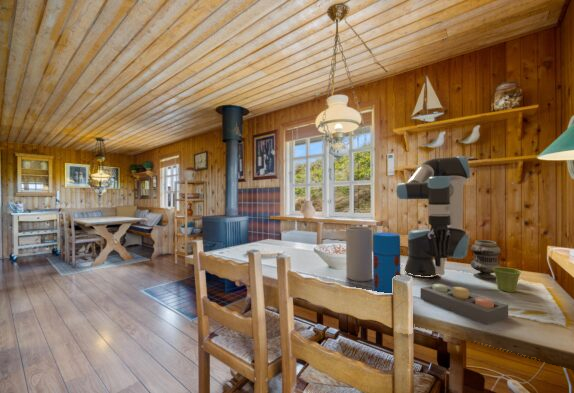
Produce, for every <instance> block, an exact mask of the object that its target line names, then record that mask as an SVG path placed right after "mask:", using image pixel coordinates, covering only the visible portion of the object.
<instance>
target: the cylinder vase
mask: <svg viewBox="0 0 574 393" xmlns="http://www.w3.org/2000/svg"><path fill="white" fill-rule="evenodd" d="M372 230H373V228H371V227H366V226H350V227H349V226H348V227H346V228H345V239H346V241H345V243H346V245H345V248H346V249H345V251H346V252H345V254H346V256H345V257H346V263H345V264H346V267H345V268H346V270H345V271H346V277H347V279H349V280H351V281H356V282H368V281H371V280H372V279H373V231H372Z"/></svg>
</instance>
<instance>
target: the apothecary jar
mask: <svg viewBox="0 0 574 393" xmlns="http://www.w3.org/2000/svg"><path fill="white" fill-rule="evenodd" d="M470 249H471V252H473V260H471V262H470V266H471V268H473V270H475V271H478V272H476V273H473V276H474V277H475V278H478V279H481V280H485V281H486V280H487V281H496V276H495V275H494V274H495V273H494V270H493V268H494V267H502V266H501V265H500V264H499V260H498V259H499V256H498V255H499V254H501V252H502V250H501V248H500V247H499V246H498V244H497V242H496V241H493V240H487V239H477V240H475V241H474V244H473V245H472V246H470Z"/></svg>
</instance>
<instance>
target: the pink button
mask: <svg viewBox="0 0 574 393" xmlns="http://www.w3.org/2000/svg"><path fill="white" fill-rule="evenodd" d="M493 301H494V300H493ZM493 301H492V299H491V298H487V299H486V297H484V298H476V299H475V304H476V305H479V306H482V307H484V308H487V309H491V308H494V302H493Z"/></svg>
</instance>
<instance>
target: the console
mask: <svg viewBox="0 0 574 393" xmlns="http://www.w3.org/2000/svg"><path fill="white" fill-rule="evenodd" d="M441 284H442V285H445V286H447V292H443V293H442V292H439V291H436V290H433V284H432V285H429V286H427V285H426V286H423V287H420V299H422V300H424V301H427V302H430V303H432V304H435V305H436V306H437V305H438V306H439V307H442V308H444V309H446V310H449V311H452V312H455V313H456V314H457V313H458V314H460V315H463V316H464V317H467V318H470V319H472V320H475V321H477V322H480V323H482V324H485V325H487V326H488V325H491V324H493V323H496V322H498V321H501V320H504V319H506V318H509V305H508V304H506V303H502V302H499V301H496V300H492V299H491V300H492V301H493V302H494V308H491V309H487V308H484V307H482V306H479V305H476V304H475V299H476V298H486V297H484V296H481V295H477V294H475V293H471V292H469V299H467V300H462V299H459V298H456V297H453V296H452V288H453V287H454V286H453V287H452V286H449V285H446V284H443V283H441ZM486 299H488V298H486Z"/></svg>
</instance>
